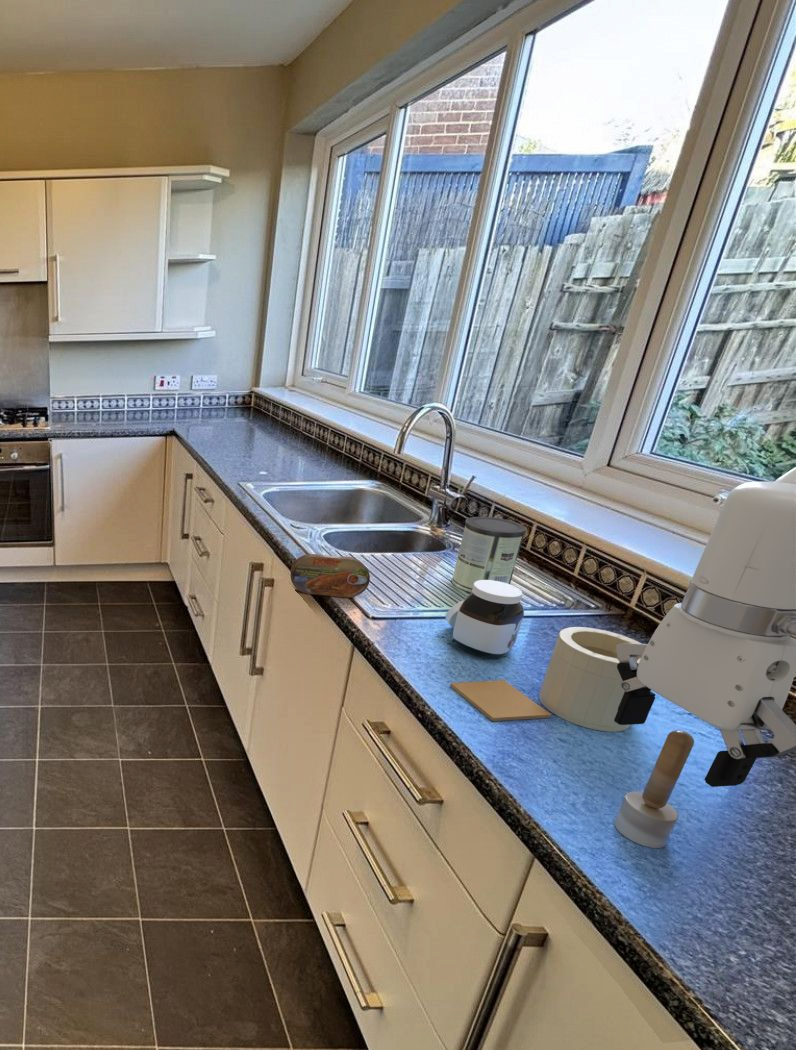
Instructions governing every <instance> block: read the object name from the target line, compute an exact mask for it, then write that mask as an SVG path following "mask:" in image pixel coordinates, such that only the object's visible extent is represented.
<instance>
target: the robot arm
mask: <svg viewBox="0 0 796 1050" xmlns="http://www.w3.org/2000/svg"><path fill="white" fill-rule="evenodd" d="M692 575H693V576H692V578H691V580H690V583H689V584H688V587H687V589H686V592H685V593H684V597H683V598H682V601H681V602H679V603H676V604H674V605H673V606H672V608H670V610H669V611H668V612H667V614H666V615H665V616H664V617H663V619H662V620H661V621H660V622H659V624H658V626H657V628H656V629H655V630H654V632H653V634H652V635H651V637H650V639H649V641H648V643H642V644H635V643H623V644H617V646H616V649H617V657H618V660H619V663H618V664H617V669H618V671H619V673H620V676H621V678H622V682H621V684H620V686H621V688H622V690H623V691H625V692H624V695H623V697H622V700H621V702H620V704H619V707H618V712H617V714H616V716H615V719H614V721H615V722H616V723H617V724H619V725H630V726H632V725H633V726H634V725H644V724H645V722H646V720H647V718H648V716H649V713H650V711H651V709H652V707H653V704H654V702H655V700H656V696H657V695H659V696H660V697H662V698H664V699H666V700H668V701H669V702H671V703H673V704H674V705H675V706H678V707H679V708H681V709H683V710H684V711H686V712H688V713H689V714H691V715H693V716H695V717H697V718H698V719H700V720H702V721H703V722H705V723H707V724H709V725H710V726H713V727H714V728H717V729H718V730H719V732H720V734H721V738H722V740H723V742H724V745H725V747H726V750H719V751H718V752H717V753H716V754H715V757H714V760H713V761H712V764H711V765H710V767H709V769H708V771H707V773H706V776H705V777H704V781H705V784H707V785H708V786H709V787H711V788H718V787H719V788H720V787H721V788H722V787H735V786H739V785H741V784H743V783H745V781H746V780H747V778H748V776H749V774H750V772H751V770H752V768H753V766H754V764H755V763H756V761H757V759H764V758H775V757H777V758H778V757H785V756H788V755H789V754H790V753H794V752H796V724H795V722H793V720H792V719H791V718H790V717H789V716H788V715H787V713H785V712H784V711H783V708H784V707H785V705H786V702H787V699H788V696H789V693H790V691H791V688H792V685H793V681H794V679H795V676H796V638H794V637H796V466H795V467H794V468H792V469H790V470H789V471H787V472H786V473H784V474H782V475H781V476H779V477H778V478H777V479H775V480H774V481H750V482H748V481H747V482H744V483H742V484H739V485H737V486H735V487H734V488H732V490H730V492H729V493H728V495H727V497H726V498H725V501H724V502H723V505H722V507H721V509H720V512H719V514H718V517H717V519H716V521H715V524H714V526H713V528H712V531H711V533H710V536H709V537H708V540H707V542H706V545H705V547H704V549H703V551H702V554H701V556H700V558H699V561H698V563H697V565H696V568H695V570H694V573H693V574H692ZM791 636H794V637H791ZM639 655H641V656H642V657H641V659H640V662H639V664H638V663H637V661H638V656H639ZM656 694H657V695H656ZM761 730H764V731H766V730H767V731H768V730H770V731H771V732H772V734H773V737H772V738H771V739H769V740H768V741H765V740H764V738H763V736H762V732H761ZM741 734H742V735H741ZM743 740H744V741H743Z"/></svg>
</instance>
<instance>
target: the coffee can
mask: <svg viewBox="0 0 796 1050" xmlns="http://www.w3.org/2000/svg"><path fill="white" fill-rule="evenodd" d="M464 524H465V526H464V530H463V533H462V538H461V541H460V545H459V550H458V554H457V559H456V562H455V568H454V570H453V574H452V577H451V583H452V585H453V586H455V587H456V588H457V589H460V590H462V591H465V592H468V593H470V594H471V593H472V589H473V585H474V582H476V581H479V580H493V581H499V582H504V583H507V584H510V585H511V583H512V578H513V575H514V571H515V568H516V564H517V561H518V557H519V554H520V551H521V547H522V544H523V539H524V537H525V536H524V535H525V534H526V533H527V527H526V526H524V525H523V524H522V523H519V522H516V521H513V520H510V519H504V518H500V517H491V516H473V517H468V518H466V519H465V521H464Z"/></svg>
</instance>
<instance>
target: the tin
mask: <svg viewBox="0 0 796 1050" xmlns="http://www.w3.org/2000/svg"><path fill="white" fill-rule="evenodd" d="M370 580H371V574H370V571H369V569H368V567H367V566H366V565H365V564H364V563H363V562H362V561H361V560H359V559H357V558H355V557H352V556H345V555H344V556H341V555H331V554H329V555H328V554H318V553H307V554H304V555H303V554H302V555H301V556H299V557H297V559H295V561H293V563H292V565H291V568H290V581H291V583H292V585H293V587H294V588H295V589H296V590H297V591H298V592H301V593H303V594H306V595H314V596H326V597H334V598H335V597H336V598H344V599H346V598H347V599H349V598H350V599H351V598H354V597H357V596H360V595H361V594H363V593H364V592H365V591H366V590H367V589H368V587H369V585H370V582H371V581H370Z"/></svg>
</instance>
